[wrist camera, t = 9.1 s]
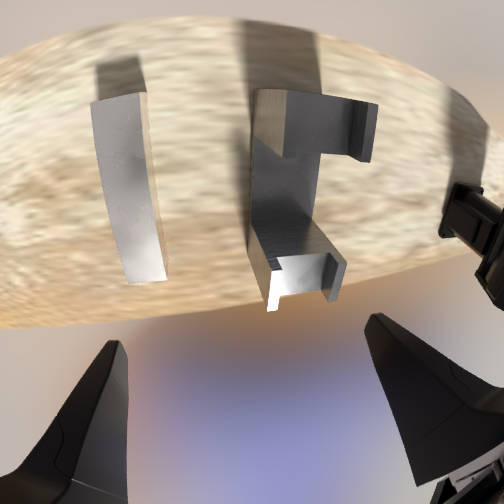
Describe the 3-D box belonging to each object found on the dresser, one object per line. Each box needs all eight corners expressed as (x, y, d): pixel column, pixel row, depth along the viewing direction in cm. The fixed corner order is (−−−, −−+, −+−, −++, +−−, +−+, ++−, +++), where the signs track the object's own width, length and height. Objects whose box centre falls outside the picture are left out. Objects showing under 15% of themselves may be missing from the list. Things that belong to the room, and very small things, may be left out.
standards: (322, 95, 16) (378, 104, 10) (303, 249, 22) (336, 300, 17) (254, 89, 15) (287, 89, 10) (247, 253, 21) (267, 311, 16)
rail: (147, 92, 14) (139, 92, 11) (168, 256, 20) (167, 279, 18) (105, 100, 13) (90, 102, 11) (133, 260, 20) (128, 283, 18)
